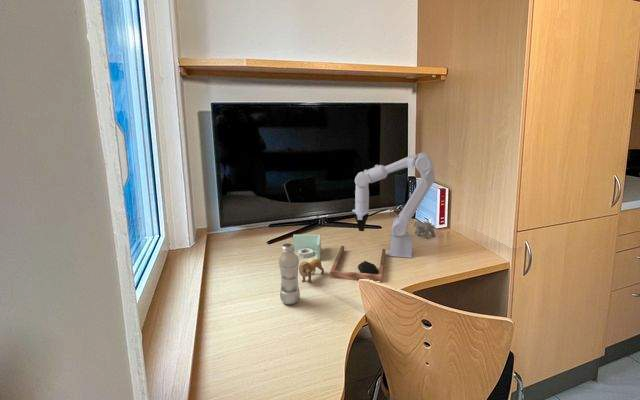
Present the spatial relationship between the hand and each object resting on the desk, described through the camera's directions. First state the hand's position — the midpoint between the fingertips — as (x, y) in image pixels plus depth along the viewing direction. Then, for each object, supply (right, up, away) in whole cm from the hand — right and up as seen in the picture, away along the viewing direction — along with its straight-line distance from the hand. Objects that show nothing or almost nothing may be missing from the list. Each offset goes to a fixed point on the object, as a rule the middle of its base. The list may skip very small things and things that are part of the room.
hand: (361, 230), depth 154 cm
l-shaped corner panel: (-24, -11, -1) cm, 26 cm away
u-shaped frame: (-2, -13, -11) cm, 17 cm away
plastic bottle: (-28, -20, -37) cm, 50 cm away
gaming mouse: (0, -15, -15) cm, 21 cm away
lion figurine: (-21, -16, -22) cm, 34 cm away
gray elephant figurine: (+32, -5, +17) cm, 36 cm away
